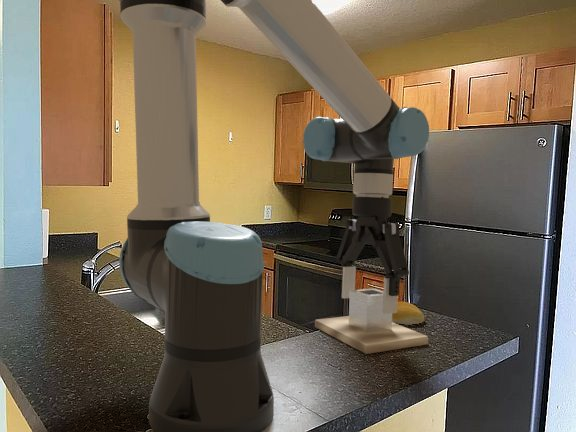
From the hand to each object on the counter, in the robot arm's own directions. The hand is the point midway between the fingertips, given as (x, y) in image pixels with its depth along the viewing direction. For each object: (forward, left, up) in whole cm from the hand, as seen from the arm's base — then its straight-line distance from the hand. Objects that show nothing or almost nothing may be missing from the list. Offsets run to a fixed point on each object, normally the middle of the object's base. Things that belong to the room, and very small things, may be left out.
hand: (367, 305), depth 93 cm
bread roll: (+7, -15, -6) cm, 17 cm away
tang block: (0, 0, -6) cm, 6 cm away
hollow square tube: (0, -1, -4) cm, 5 cm away
